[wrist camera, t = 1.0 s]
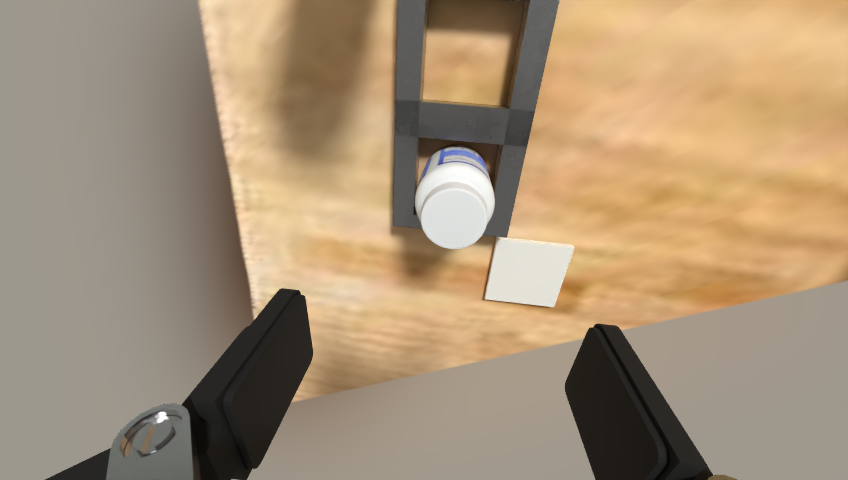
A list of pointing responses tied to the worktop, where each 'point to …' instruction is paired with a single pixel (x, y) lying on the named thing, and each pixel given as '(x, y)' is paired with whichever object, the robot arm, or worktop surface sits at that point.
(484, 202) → the pill bottle
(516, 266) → the tile
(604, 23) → the worktop surface
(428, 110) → the grey double square frame
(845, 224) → the worktop surface
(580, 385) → the robot arm
